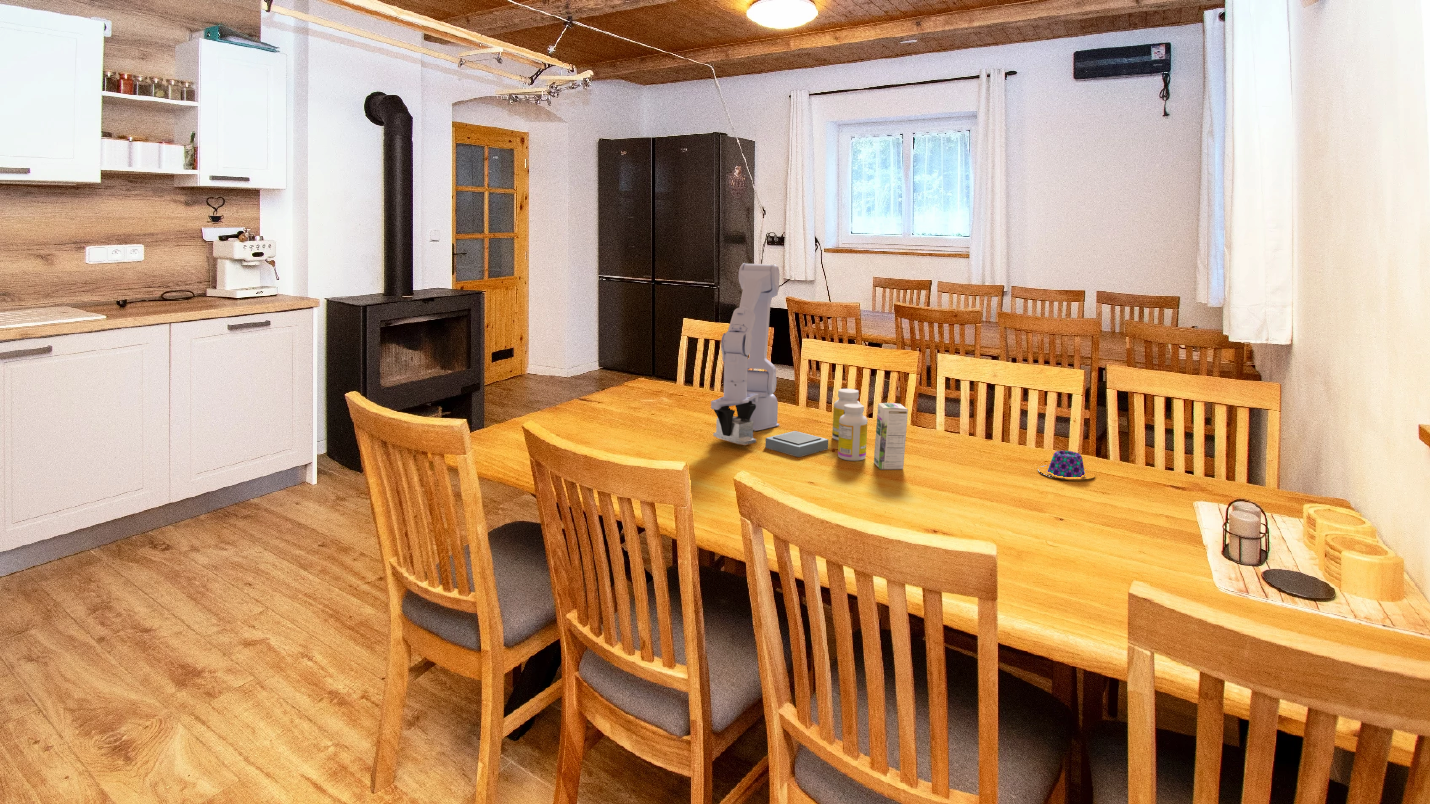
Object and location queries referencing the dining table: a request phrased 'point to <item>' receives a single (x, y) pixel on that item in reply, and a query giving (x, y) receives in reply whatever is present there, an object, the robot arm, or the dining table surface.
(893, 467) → the syrup box
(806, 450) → the stand
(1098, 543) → the dining table surface
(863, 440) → the supplement bottle
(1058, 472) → the polka-dot brimmed hat
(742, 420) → the housing
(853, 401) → the supplement bottle
